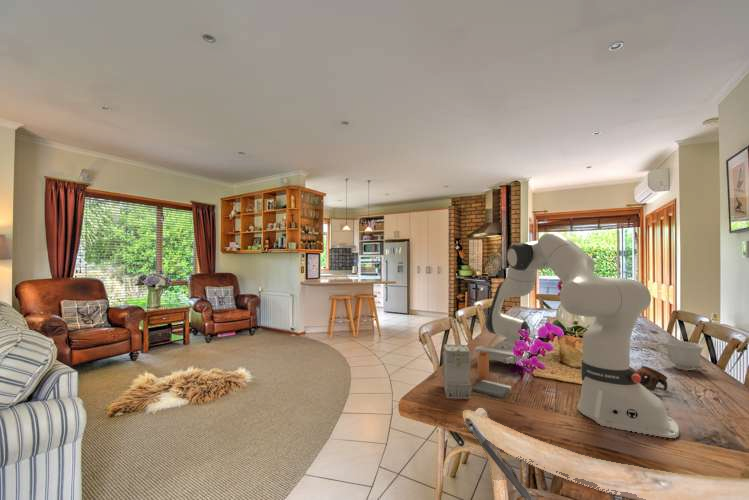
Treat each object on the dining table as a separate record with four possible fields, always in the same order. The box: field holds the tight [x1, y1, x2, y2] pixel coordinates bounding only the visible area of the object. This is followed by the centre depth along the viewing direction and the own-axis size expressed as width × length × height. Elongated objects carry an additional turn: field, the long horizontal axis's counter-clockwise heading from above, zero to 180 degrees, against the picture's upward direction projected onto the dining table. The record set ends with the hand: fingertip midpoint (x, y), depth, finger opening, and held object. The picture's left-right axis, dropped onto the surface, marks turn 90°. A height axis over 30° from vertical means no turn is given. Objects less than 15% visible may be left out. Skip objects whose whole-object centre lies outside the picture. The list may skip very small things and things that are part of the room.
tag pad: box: [471, 380, 512, 399], centre depth 113 cm, size 10×10×1 cm
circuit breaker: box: [442, 343, 472, 400], centre depth 113 cm, size 8×14×15 cm, turn 174°
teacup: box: [655, 339, 705, 371], centre depth 136 cm, size 12×15×10 cm
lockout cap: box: [477, 350, 490, 381], centre depth 123 cm, size 4×4×10 cm
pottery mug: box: [636, 365, 668, 391], centre depth 114 cm, size 12×10×8 cm
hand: (493, 359), depth 131 cm, fingers open, 8 cm apart
